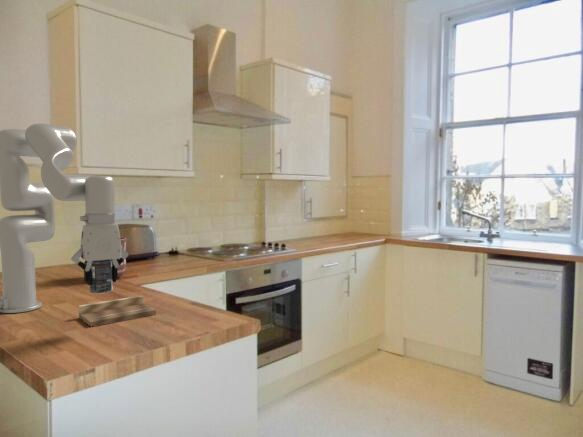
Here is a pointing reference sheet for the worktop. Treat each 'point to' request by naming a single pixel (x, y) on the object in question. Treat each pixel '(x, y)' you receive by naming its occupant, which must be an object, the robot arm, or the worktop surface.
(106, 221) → the robot arm
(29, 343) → the worktop surface
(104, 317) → the board
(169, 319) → the worktop surface
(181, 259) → the worktop surface
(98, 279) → the pill bottle
